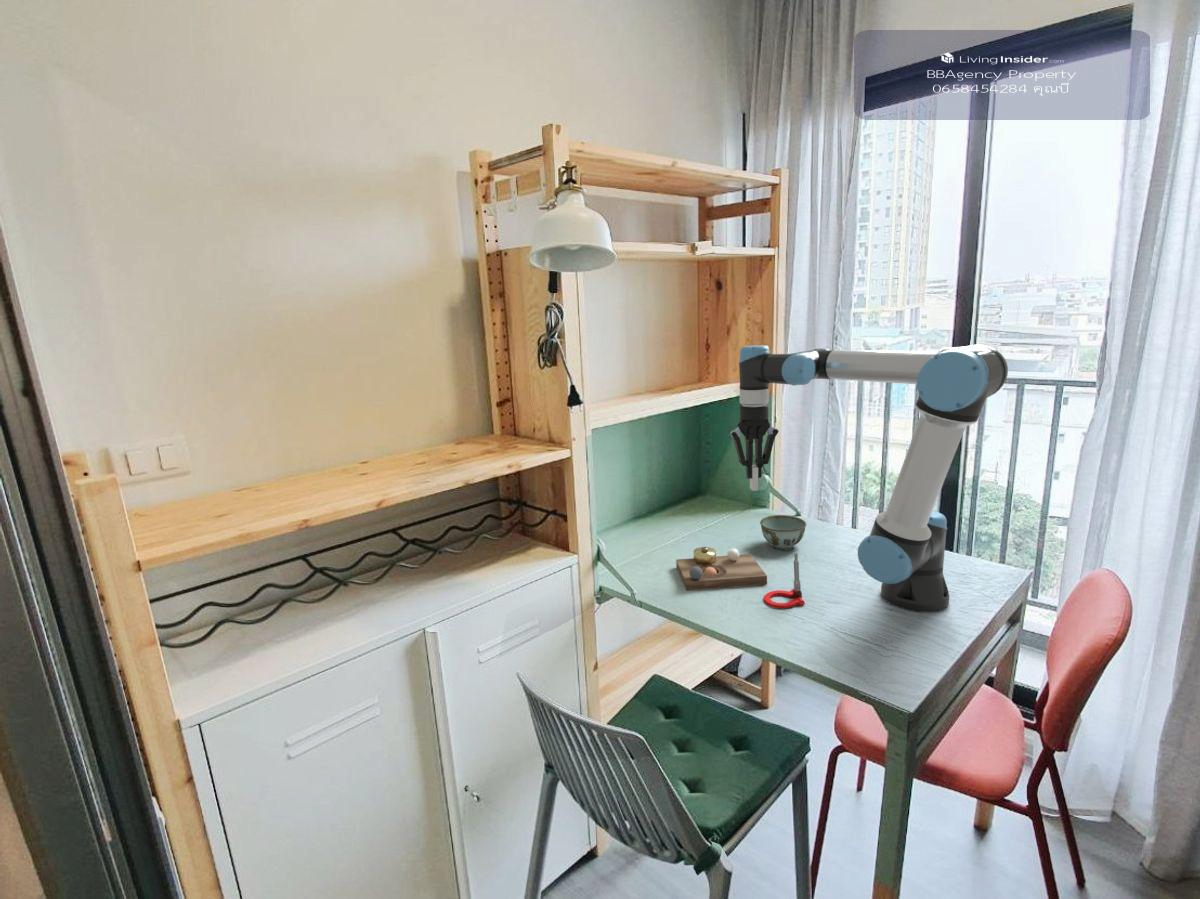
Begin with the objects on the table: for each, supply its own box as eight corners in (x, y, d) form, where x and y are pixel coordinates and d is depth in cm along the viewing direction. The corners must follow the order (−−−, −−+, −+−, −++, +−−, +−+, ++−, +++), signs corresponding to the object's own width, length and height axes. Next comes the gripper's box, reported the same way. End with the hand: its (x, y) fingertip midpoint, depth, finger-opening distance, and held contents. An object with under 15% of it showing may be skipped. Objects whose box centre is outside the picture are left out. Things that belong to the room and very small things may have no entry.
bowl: (795, 536, 194) (796, 513, 192) (813, 553, 181) (813, 528, 179) (754, 540, 193) (754, 516, 192) (768, 556, 180) (768, 531, 178)
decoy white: (741, 562, 172) (741, 550, 171) (729, 563, 171) (728, 551, 171) (737, 557, 175) (737, 546, 174) (725, 558, 175) (725, 547, 174)
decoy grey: (703, 581, 161) (703, 568, 161) (690, 582, 161) (690, 569, 160) (701, 575, 165) (700, 563, 164) (688, 576, 165) (688, 564, 164)
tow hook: (769, 611, 150) (806, 607, 150) (767, 563, 147) (805, 559, 147) (760, 596, 158) (795, 592, 158) (757, 550, 155) (793, 546, 155)
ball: (702, 577, 166) (712, 584, 166) (710, 567, 165) (720, 574, 166) (700, 571, 169) (710, 578, 170) (708, 562, 169) (718, 569, 169)
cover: (718, 563, 171) (718, 551, 170) (696, 564, 171) (696, 553, 170) (713, 554, 177) (713, 543, 177) (691, 555, 177) (691, 544, 176)
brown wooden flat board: (766, 584, 163) (766, 575, 162) (686, 590, 162) (686, 581, 161) (750, 561, 177) (750, 554, 177) (676, 567, 177) (676, 559, 176)
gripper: (773, 400, 164) (772, 483, 169) (726, 403, 164) (726, 487, 169) (783, 404, 157) (781, 491, 162) (733, 408, 156) (734, 494, 162)
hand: (753, 489), depth 166 cm, fingers closed
